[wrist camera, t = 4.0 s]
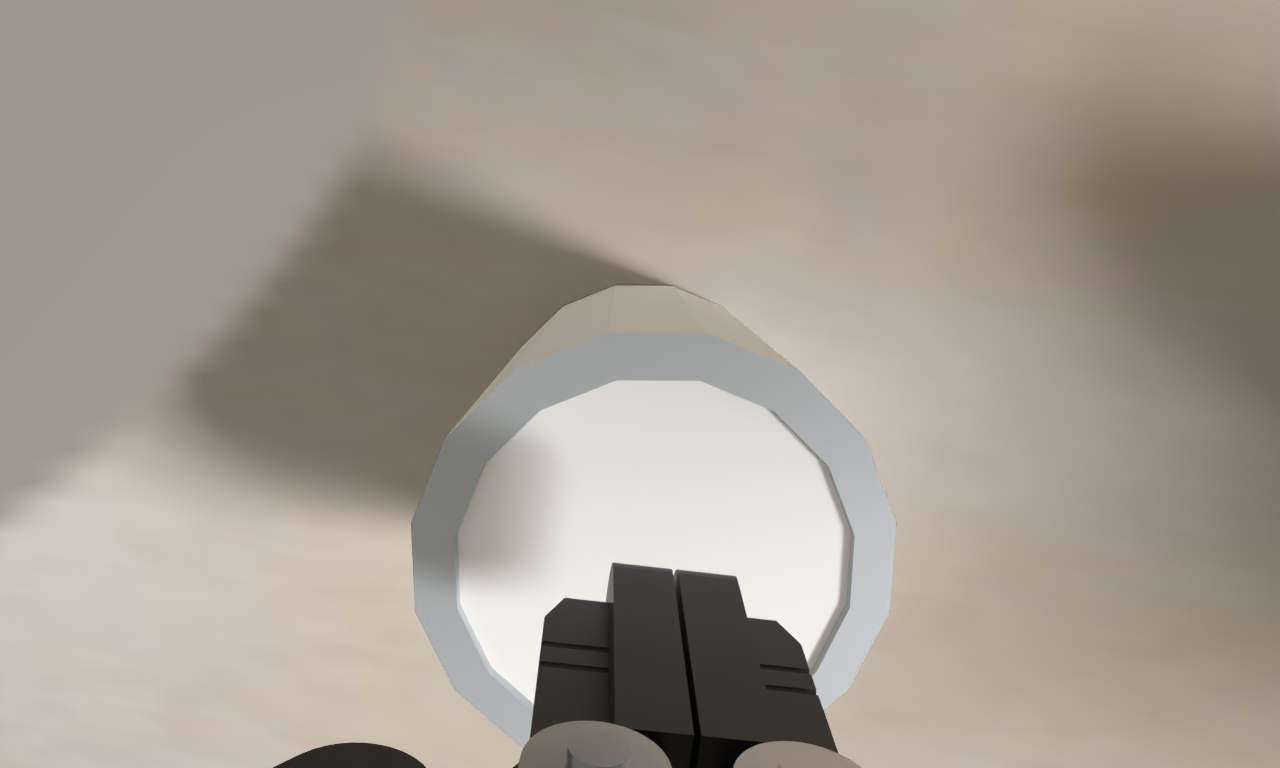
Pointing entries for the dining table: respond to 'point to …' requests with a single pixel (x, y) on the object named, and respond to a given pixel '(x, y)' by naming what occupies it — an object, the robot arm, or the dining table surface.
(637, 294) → the shot glass
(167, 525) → the dining table surface
